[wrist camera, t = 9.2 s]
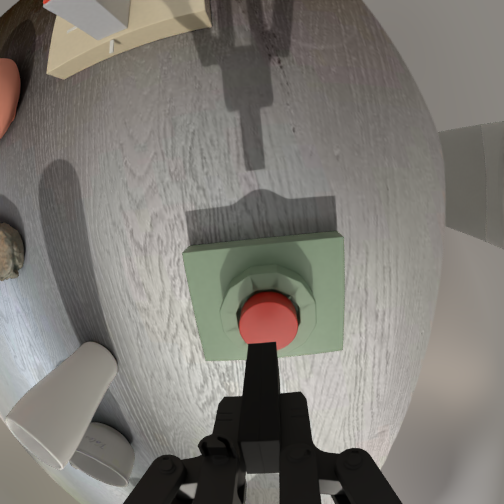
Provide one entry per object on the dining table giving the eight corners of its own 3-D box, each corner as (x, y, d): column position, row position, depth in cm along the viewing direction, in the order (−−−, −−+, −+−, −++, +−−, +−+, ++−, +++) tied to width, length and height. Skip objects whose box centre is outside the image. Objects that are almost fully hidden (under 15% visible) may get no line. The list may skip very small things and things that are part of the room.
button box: (336, 230, 21) (350, 242, 18) (337, 337, 24) (347, 362, 20) (189, 245, 22) (174, 259, 19) (210, 347, 25) (201, 373, 21)
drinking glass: (75, 325, 26) (-7, 403, 11) (124, 346, 26) (51, 447, 11) (81, 367, 28) (18, 444, 13) (126, 388, 28) (71, 480, 13)
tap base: (205, -46, 14) (199, -63, 11) (213, 40, 18) (205, 23, 15) (75, 3, 16) (61, -7, 12) (63, 93, 19) (43, 87, 16)
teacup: (114, 412, 29) (90, 452, 22) (155, 456, 32) (141, 494, 24) (62, 411, 32) (40, 441, 24) (99, 451, 34) (83, 480, 26)
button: (294, 288, 19) (296, 298, 17) (297, 336, 20) (299, 349, 18) (237, 293, 19) (234, 304, 18) (244, 340, 20) (242, 353, 19)
